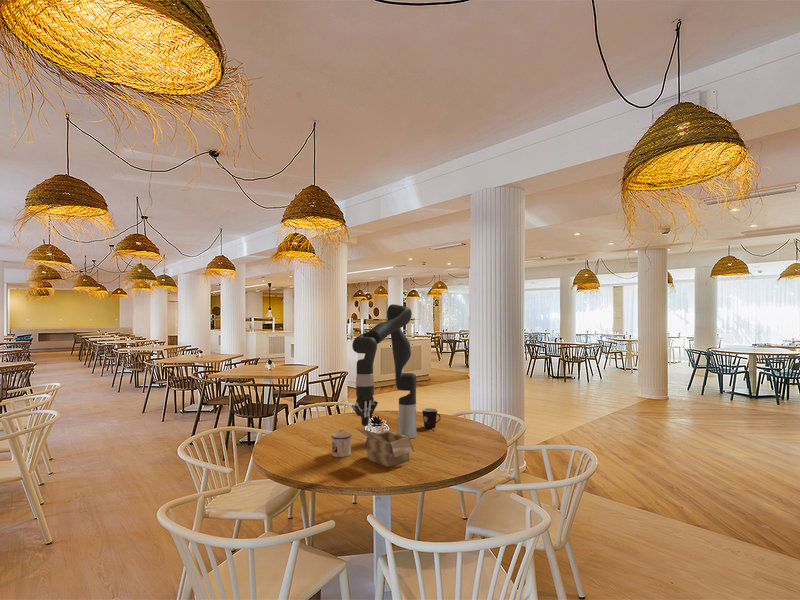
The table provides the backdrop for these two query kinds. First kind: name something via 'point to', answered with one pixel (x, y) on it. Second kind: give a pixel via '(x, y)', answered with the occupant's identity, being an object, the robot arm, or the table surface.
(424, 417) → the coffee mug
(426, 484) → the table surface
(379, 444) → the carton
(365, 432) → the front flap
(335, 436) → the teacup with lid
